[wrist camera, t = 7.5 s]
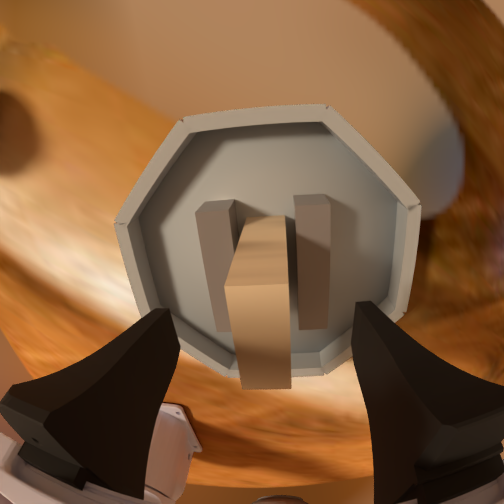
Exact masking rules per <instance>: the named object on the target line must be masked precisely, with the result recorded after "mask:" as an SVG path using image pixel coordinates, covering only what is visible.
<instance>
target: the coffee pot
mask: <svg viewBox="0 0 504 504" xmlns="http://www.w3.org/2000/svg"><path fill="white" fill-rule="evenodd" d="M252 504H308V503H306V502H304V501H303V499H301V498H299V497H295V496H286V495H274V496H265V497H261V498H258V500H257V501H255V502H253V503H252Z"/></svg>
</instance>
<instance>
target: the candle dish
mask: <svg viewBox="0 0 504 504" xmlns="http://www.w3.org/2000/svg"><path fill="white" fill-rule="evenodd" d="M419 203H420V200H419V199H418V198H417V197H416V195H415V194H414V193H413V191H412V190H411V189H410V188H409V187H408V185H407V184H406V183H405V182H404V181H403V180H402V178H401V177H400V176H399V175H398V174H397V173H396V171H395V170H394V169H393V168H392V167H391V166H390V165H389V164H388V163H387V161H386V160H385V159H384V158H383V157H382V156H381V155H380V154H379V153H378V152H377V151H376V150H375V149H374V148H373V147H372V145H370V143H369V142H368V141H367V140H366V139H365V138H364V137H363V136H362V135H361V134H360V133H359V132H358V131H357V130H356V129H355V128H353V126H352V125H350V124H349V123H348V122H347V121H346V120H345V119H344V118H343V117H342V116H341V115H340V114H339V113H338V112H337V111H335V110H334V109H333V108H332V107H331V106H328V107H326V104H305V105H283V106H268V107H256V108H246V109H236V110H228V111H220V112H213V113H206V114H199V115H193V116H187V117H183V120H178V122H177V123H176V125H175V126H174V127H173V129H172V130H171V131H170V133H169V134H168V136H167V137H166V139H165V140H164V141H163V143H162V144H161V146H160V147H159V149H158V150H157V152H156V153H155V155H154V156H153V158H152V159H151V161H150V162H149V164H148V165H147V167H146V168H145V170H144V171H143V173H142V175H141V176H140V178H139V179H138V181H137V183H136V184H135V186H134V187H133V189H132V191H131V192H130V194H129V196H128V197H127V199H126V201H125V202H124V204H123V206H122V208H121V209H120V211H119V213H118V215H117V216H116V218H115V220H114V221H116V223H115V224H114V226H115V231H116V235H117V239H118V242H119V246H120V250H121V254H122V257H123V261H124V264H125V268H126V271H127V275H128V278H129V281H130V285H131V288H132V291H133V294H134V297H135V300H136V304H137V307H138V310H139V312H140V315H141V318H142V317H144V316H145V315H146V314H148V313H149V312H150V311H152V310H153V309H155V308H169V309H170V313H171V316H172V320H173V323H174V326H175V330H176V333H177V336H178V340H179V343H180V346H181V348H180V349H182V350H183V351H185V352H186V353H188V354H189V355H191V356H192V357H194V358H195V359H197V360H199V361H200V362H202V363H203V364H205V365H207V366H208V367H210V368H211V369H213V370H215V371H216V372H218V373H220V374H221V375H223V376H226V375H227V376H228V378H240V374H239V369H238V364H237V358H236V353H235V347H234V342H233V336H232V331H231V325H230V319H229V313H228V307H227V301H226V295H225V289H224V285H225V282H226V279H227V276H228V273H229V270H230V267H231V263H232V260H233V257H234V254H235V251H236V248H237V245H238V242H239V239H240V236H241V233H242V230H243V227H244V224H245V221H246V218H247V217H261V216H277V215H285V225H286V242H287V261H288V282H289V308H290V341H291V377H306V376H323V375H324V373H325V374H328V373H330V372H331V371H333V370H334V369H335V368H337V367H338V366H340V365H341V364H343V363H344V362H345V361H347V360H348V359H349V358H351V357H352V356H353V355H352V348H351V337H352V329H353V321H354V312H355V302H360V301H372V302H373V303H374V304H375V305H376V306H377V307H378V308H379V309H380V310H381V311H382V312H384V313H385V314H386V315H387V316H388V317H389V318H390V319H391V320H392V321H393V322H394V323H395V322H397V321H398V320H399V319H400V318H401V317H402V316H404V315H405V314H404V313H403V312H406V311H407V306H408V302H409V297H410V291H411V286H412V280H413V274H414V268H415V262H416V255H417V247H418V239H419V230H420V220H421V208H422V205H421V204H419Z"/></svg>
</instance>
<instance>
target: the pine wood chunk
mask: <svg viewBox="0 0 504 504" xmlns="http://www.w3.org/2000/svg"><path fill="white" fill-rule="evenodd" d="M224 289H225V295H226V301H227V307H228V313H229V319H230V325H231V331H232V336H233V342H234V347H235V353H236V358H237V364H238V369H239V374H240V380H241V385H242V389H291V341H290V308H289V282H288V261H287V242H286V225H285V215H277V216H261V217H247V218H246V221H245V224H244V227H243V230H242V233H241V236H240V239H239V242H238V245H237V248H236V251H235V254H234V257H233V260H232V263H231V267H230V270H229V273H228V276H227V279H226V282H225V285H224Z"/></svg>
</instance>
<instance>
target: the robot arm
mask: <svg viewBox="0 0 504 504" xmlns="http://www.w3.org/2000/svg"><path fill="white" fill-rule="evenodd" d="M180 348H181V346H180V343H179V340H178V336H177V333H176V330H175V326H174V323H173V320H172V316H171V313H170V309H169V308H155V309H153V310H152V311H150V312H149V313H148V314H146V315H145V316H144V317H142V318H141V319H140V320H139V321H137V322H136V323H135V324H133V325H132V326H131V327H130V328H128V329H127V330H126V331H124V332H123V333H122V334H120V335H119V336H118V337H116V338H115V339H114V340H112V341H111V342H109V343H108V344H106V345H105V346H104V347H102V348H101V349H99V350H98V351H96V352H95V353H93V354H91V355H90V356H88V357H86V358H84V359H83V360H81V361H79V362H77V363H75V364H73V365H71V366H69V367H66V368H64V369H62V370H60V371H58V372H55V373H53V374H50V375H47V376H44V377H41V378H38V379H35V380H31V381H27V382H23V383H19V384H15V385H12V387H11V388H10V389H9V391H8V392H7V393H6V394H5V396H4V397H3V398H2V400H1V401H0V413H1V415H2V416H3V417H4V419H5V420H6V421H7V422H8V423H9V425H10V426H11V427H12V428H13V429H14V430H15V431H16V432H17V433H18V434H19V435H20V436H21V438H22V439H23V440H24V441H25V442H24V444H23V445H20V444H19V443H18V442H16V441H15V440H13V439H11V438H10V437H8V436H7V435H5V434H3V433H0V493H1V494H2V495H3V496H5V497H6V498H7V499H9V500H10V501H11V502H12V503H14V504H175V502H176V500H177V499H178V498H179V497H180V496H181V495H182V493H183V491H184V488H185V484H186V480H187V476H188V472H189V468H190V464H191V460H192V456H193V452H202V447H201V445H200V443H199V441H198V439H197V437H196V435H195V433H194V431H193V429H192V427H191V425H190V423H189V421H188V418H187V416H186V414H185V412H184V410H183V408H182V407H181V406H180V405H175V404H167V403H162V402H163V399H164V397H165V394H166V392H167V389H168V387H169V384H170V382H171V379H172V376H173V374H174V371H175V369H176V365H177V361H178V357H179V352H180ZM351 348H352V355H353V361H354V366H355V370H356V373H357V377H358V380H359V384H360V387H361V391H362V394H363V398H364V402H365V405H366V409H367V413H368V418H369V425H370V433H371V441H372V452H373V467H374V504H504V459H503V460H502V458H501V455H500V453H501V452H503V449H504V448H503V446H502V443H501V441H502V440H503V439H504V386H501V385H498V384H495V383H492V382H488V381H486V380H483V379H481V378H478V377H476V376H473V375H471V374H469V373H467V372H465V371H462V370H460V369H459V368H457V367H455V366H453V365H451V364H449V363H447V362H446V361H444V360H442V359H441V358H439V357H438V356H436V355H435V354H433V353H432V352H430V351H429V350H427V349H426V348H424V347H423V346H422V345H420V344H419V343H418V342H417V341H415V340H414V339H413V338H412V337H410V336H409V335H408V334H407V333H405V332H404V331H403V330H402V329H401V328H400V327H399V326H398V325H396V324H395V323H394V322H393V321H392V320H391V319H390V318H389V317H388V316H387V315H386V314H385V313H384V312H382V311H381V310H380V309H379V308H378V307H377V306H376V305H375V304H374V303H373V302H372V301H360V302H355V312H354V321H353V329H352V337H351Z"/></svg>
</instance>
